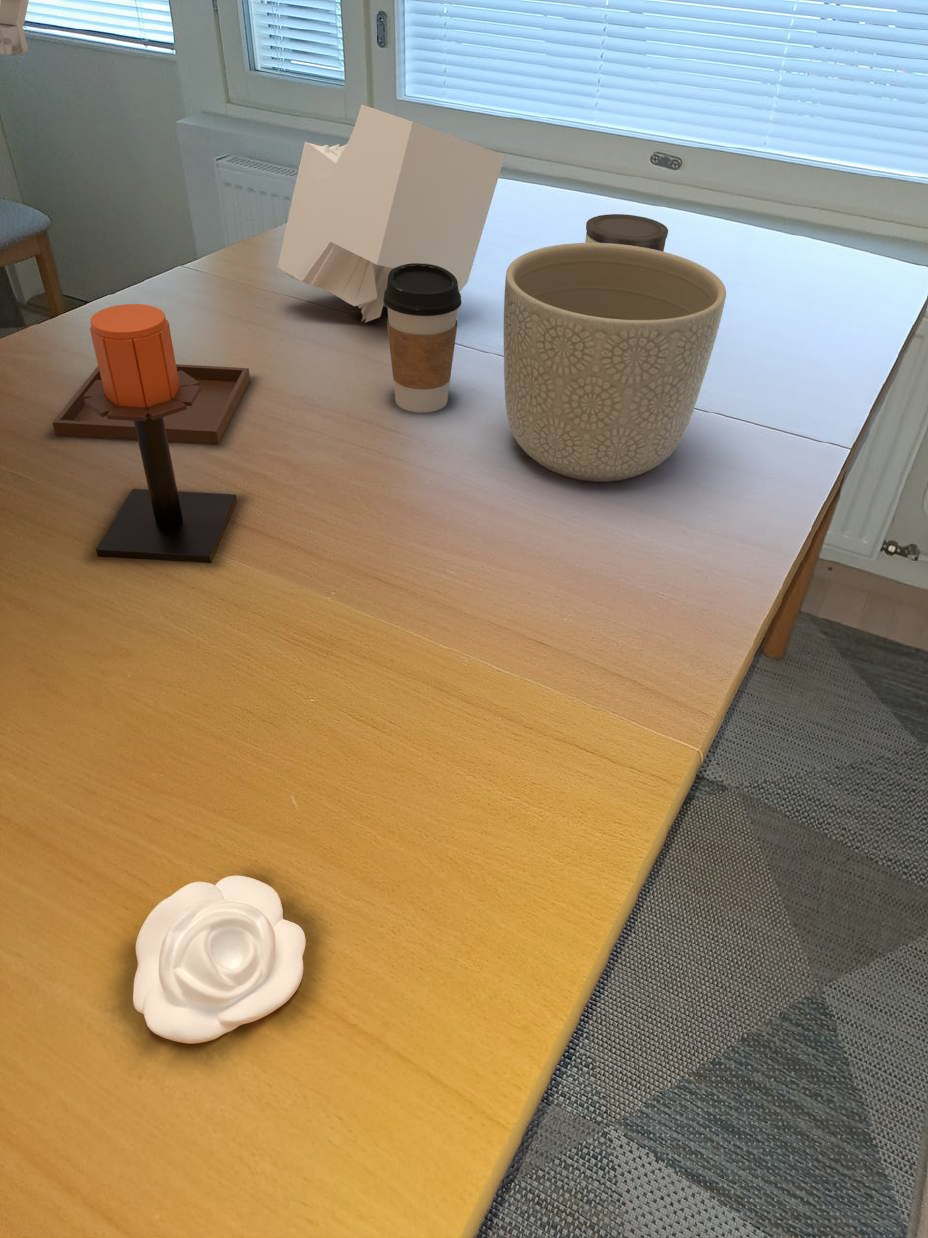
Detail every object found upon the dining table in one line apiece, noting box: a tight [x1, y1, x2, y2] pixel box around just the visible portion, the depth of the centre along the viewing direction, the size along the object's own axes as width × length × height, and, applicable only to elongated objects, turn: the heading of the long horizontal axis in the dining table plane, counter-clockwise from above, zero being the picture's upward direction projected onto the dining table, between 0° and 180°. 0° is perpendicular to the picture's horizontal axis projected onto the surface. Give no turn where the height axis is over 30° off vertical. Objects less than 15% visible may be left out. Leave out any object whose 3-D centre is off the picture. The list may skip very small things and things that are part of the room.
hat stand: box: [95, 417, 238, 564], centre depth 78 cm, size 10×10×20 cm
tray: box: [51, 363, 251, 446], centre depth 101 cm, size 17×15×2 cm
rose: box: [132, 875, 307, 1044], centre depth 51 cm, size 10×4×10 cm
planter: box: [503, 242, 727, 483], centre depth 93 cm, size 21×21×19 cm
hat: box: [84, 303, 201, 421], centre depth 73 cm, size 9×9×7 cm
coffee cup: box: [383, 263, 463, 414], centre depth 101 cm, size 8×8×15 cm
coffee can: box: [584, 213, 669, 252], centre depth 119 cm, size 10×10×14 cm
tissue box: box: [276, 104, 506, 323], centre depth 119 cm, size 20×16×25 cm
